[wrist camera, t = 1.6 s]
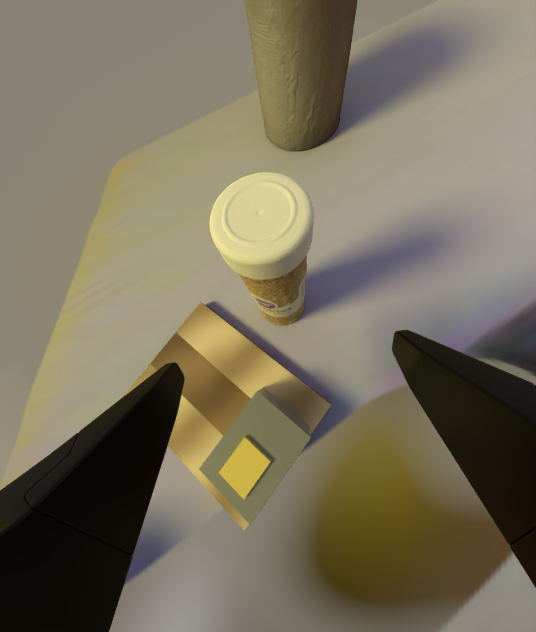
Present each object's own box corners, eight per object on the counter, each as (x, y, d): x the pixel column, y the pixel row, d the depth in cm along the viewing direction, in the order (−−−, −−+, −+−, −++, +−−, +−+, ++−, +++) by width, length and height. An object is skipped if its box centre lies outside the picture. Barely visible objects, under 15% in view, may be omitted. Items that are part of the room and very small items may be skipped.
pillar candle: (341, 92, 27) (386, -218, 13) (337, 151, 25) (384, -143, 11) (269, 99, 29) (236, -165, 15) (259, 155, 27) (208, -92, 12)
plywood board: (329, 403, 19) (331, 405, 18) (247, 521, 17) (244, 530, 16) (204, 304, 23) (200, 302, 22) (131, 394, 22) (123, 396, 21)
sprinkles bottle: (257, 322, 21) (194, 256, 8) (265, 281, 22) (218, 166, 9) (302, 329, 21) (307, 266, 8) (308, 286, 22) (320, 166, 9)
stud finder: (309, 425, 18) (311, 439, 14) (258, 498, 17) (249, 528, 14) (263, 387, 19) (256, 391, 16) (214, 452, 18) (196, 470, 15)
